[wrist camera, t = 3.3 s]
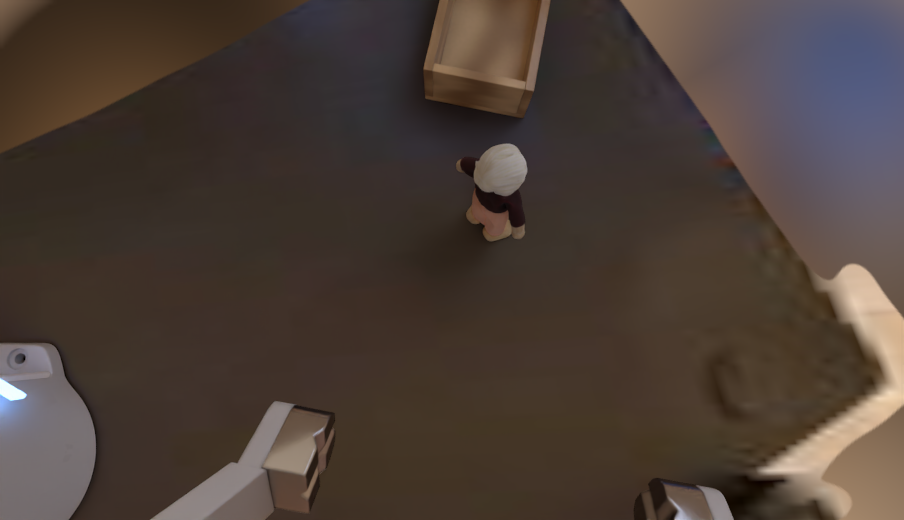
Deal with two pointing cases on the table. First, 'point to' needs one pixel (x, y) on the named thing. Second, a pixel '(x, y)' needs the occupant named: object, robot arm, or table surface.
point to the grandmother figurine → (497, 191)
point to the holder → (486, 54)
